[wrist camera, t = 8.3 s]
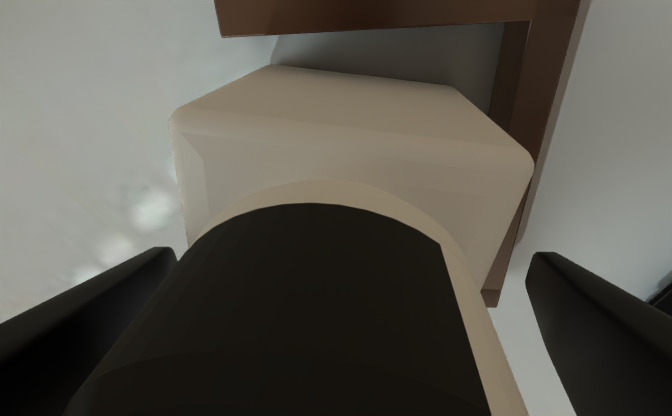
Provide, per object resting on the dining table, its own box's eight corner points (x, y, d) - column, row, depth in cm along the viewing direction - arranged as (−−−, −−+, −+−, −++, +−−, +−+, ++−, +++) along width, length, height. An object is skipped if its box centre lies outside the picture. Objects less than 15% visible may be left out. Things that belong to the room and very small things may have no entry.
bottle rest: (553, -28, 10) (591, -36, 8) (483, 277, 16) (497, 308, 15) (235, -5, 11) (211, -9, 9) (283, 272, 17) (274, 301, 16)
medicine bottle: (266, 221, 16) (72, 608, 6) (264, 61, 12) (-328, 323, 2) (414, 241, 16) (499, 682, 5) (457, 84, 12) (1004, 523, 2)
